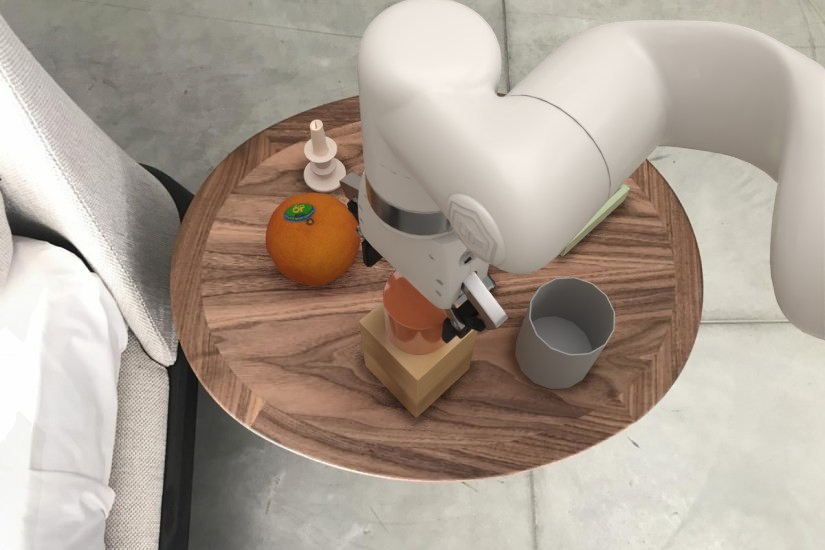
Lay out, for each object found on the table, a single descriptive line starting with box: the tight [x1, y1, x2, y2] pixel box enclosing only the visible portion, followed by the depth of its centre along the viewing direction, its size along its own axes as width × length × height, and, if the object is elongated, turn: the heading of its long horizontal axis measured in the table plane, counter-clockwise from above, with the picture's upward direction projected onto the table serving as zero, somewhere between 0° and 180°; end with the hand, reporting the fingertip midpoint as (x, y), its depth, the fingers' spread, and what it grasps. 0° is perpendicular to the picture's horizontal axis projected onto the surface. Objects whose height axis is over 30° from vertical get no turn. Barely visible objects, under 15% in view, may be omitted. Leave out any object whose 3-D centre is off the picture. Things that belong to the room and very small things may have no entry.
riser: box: [358, 300, 479, 419], centre depth 73 cm, size 8×8×12 cm
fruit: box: [265, 192, 362, 287], centre depth 81 cm, size 11×10×8 cm
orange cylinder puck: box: [382, 269, 457, 355], centre depth 65 cm, size 6×6×6 cm
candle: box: [303, 119, 347, 194], centre depth 85 cm, size 5×5×10 cm
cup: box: [514, 276, 616, 390], centre depth 74 cm, size 8×8×10 cm
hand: (417, 292), depth 62 cm, fingers open, 9 cm apart
